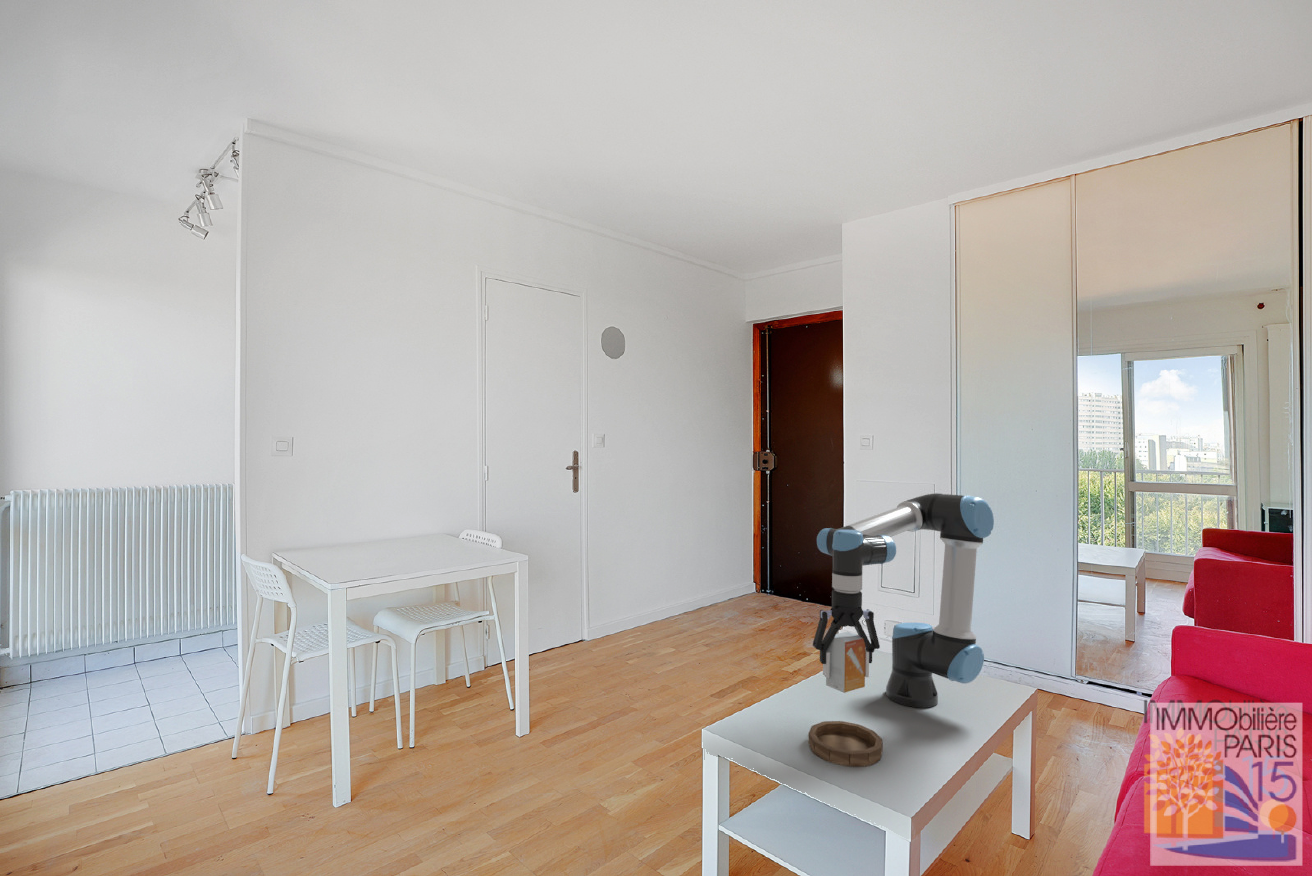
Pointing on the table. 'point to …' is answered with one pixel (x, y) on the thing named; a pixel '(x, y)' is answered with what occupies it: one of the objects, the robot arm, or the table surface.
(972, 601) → the robot arm
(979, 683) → the table surface
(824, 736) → the walnut bowl
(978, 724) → the table surface
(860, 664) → the small box
